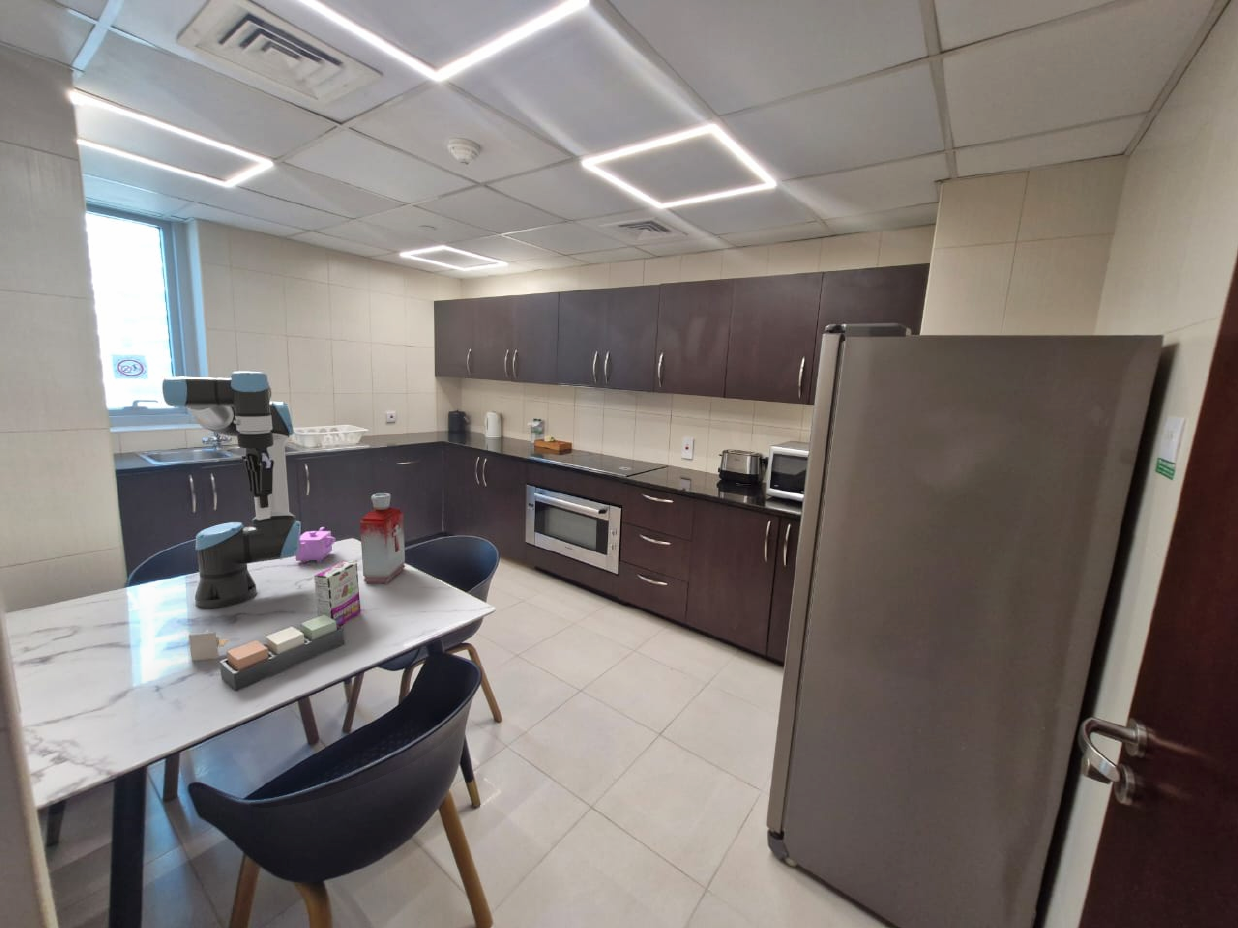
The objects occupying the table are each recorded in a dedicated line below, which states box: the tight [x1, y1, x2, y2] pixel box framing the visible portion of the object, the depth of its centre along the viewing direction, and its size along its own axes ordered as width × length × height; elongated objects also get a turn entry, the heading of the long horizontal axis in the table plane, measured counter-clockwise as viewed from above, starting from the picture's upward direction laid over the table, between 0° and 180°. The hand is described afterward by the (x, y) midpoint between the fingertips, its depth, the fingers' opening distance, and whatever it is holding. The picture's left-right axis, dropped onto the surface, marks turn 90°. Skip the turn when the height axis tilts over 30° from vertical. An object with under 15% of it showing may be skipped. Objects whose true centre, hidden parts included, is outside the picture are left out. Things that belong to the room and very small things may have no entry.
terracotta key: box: [226, 639, 269, 671], centre depth 116 cm, size 6×6×5 cm
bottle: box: [359, 492, 406, 585], centre depth 172 cm, size 14×10×30 cm
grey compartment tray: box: [219, 625, 346, 692], centre depth 123 cm, size 8×25×4 cm, turn 147°
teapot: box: [294, 526, 336, 564], centre depth 186 cm, size 15×13×11 cm
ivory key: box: [265, 626, 304, 655], centre depth 122 cm, size 6×6×5 cm
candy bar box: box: [314, 560, 361, 627], centre depth 141 cm, size 11×5×16 cm, turn 168°
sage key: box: [300, 615, 337, 641], centre depth 129 cm, size 6×6×5 cm
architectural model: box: [188, 630, 230, 661], centre depth 123 cm, size 3×7×7 cm, turn 106°
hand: (263, 518), depth 131 cm, fingers closed
